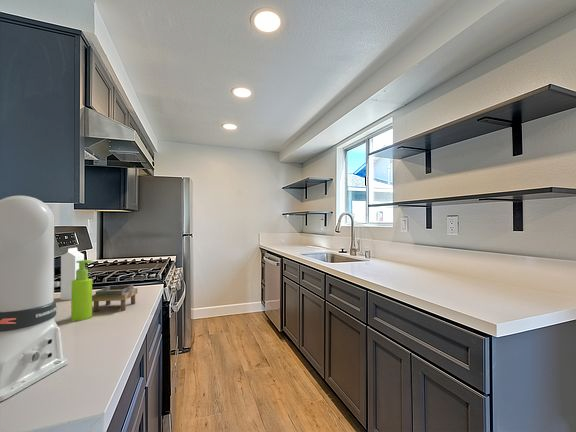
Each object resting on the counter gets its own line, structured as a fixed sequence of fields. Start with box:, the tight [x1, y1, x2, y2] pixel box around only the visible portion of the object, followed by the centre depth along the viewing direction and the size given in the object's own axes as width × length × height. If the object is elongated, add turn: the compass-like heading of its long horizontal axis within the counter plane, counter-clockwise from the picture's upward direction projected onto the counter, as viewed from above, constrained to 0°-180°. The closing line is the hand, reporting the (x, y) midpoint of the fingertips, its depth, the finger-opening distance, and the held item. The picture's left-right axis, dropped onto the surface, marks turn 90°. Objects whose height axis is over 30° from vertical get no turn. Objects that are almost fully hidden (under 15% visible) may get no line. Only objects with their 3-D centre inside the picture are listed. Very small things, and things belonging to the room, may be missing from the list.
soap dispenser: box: [70, 259, 95, 322], centre depth 101 cm, size 6×7×20 cm
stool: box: [92, 284, 138, 313], centre depth 113 cm, size 11×12×8 cm
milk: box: [60, 247, 85, 301], centre depth 128 cm, size 6×6×22 cm
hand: (48, 287), depth 100 cm, fingers open, 8 cm apart
